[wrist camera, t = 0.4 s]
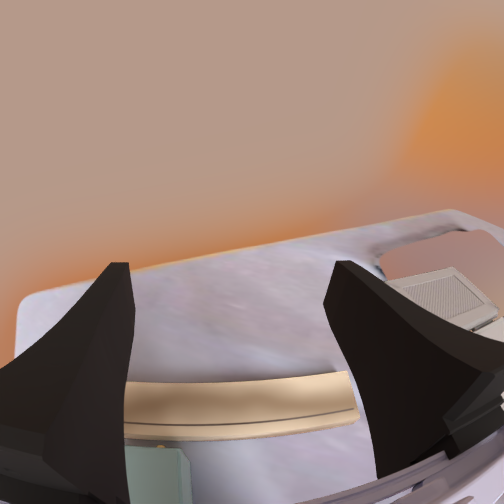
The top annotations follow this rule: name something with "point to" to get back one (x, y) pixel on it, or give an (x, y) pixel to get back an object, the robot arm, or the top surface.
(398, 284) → the gadget
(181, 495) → the green box with tab
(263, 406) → the plank
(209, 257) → the top surface
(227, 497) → the top surface
